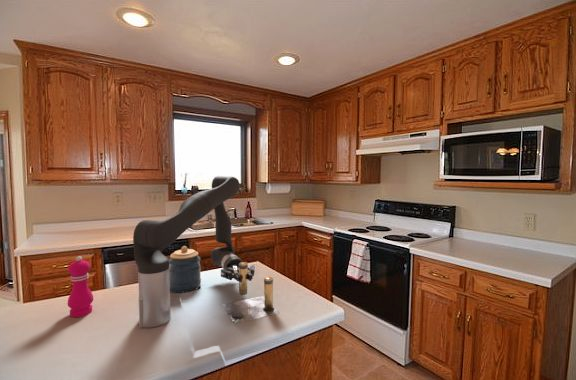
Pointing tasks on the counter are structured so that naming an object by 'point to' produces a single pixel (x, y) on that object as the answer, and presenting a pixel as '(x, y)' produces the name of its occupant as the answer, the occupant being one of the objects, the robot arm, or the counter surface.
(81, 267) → the pepper mill
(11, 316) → the counter surface
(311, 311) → the counter surface
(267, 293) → the fixed brass leg
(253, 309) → the flange plate
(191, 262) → the canister
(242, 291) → the loose brass leg
